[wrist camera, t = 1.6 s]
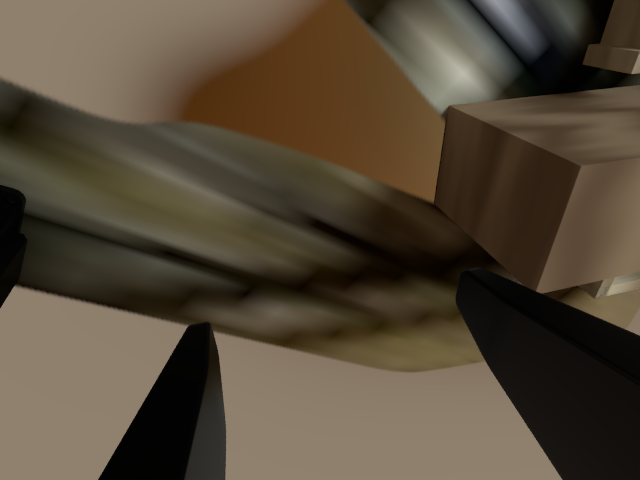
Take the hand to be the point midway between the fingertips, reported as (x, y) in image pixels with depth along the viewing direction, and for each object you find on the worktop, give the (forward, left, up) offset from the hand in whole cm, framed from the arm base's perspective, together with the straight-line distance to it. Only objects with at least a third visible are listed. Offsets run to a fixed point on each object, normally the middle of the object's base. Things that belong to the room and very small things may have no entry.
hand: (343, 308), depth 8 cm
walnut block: (+17, +6, -13) cm, 22 cm away
